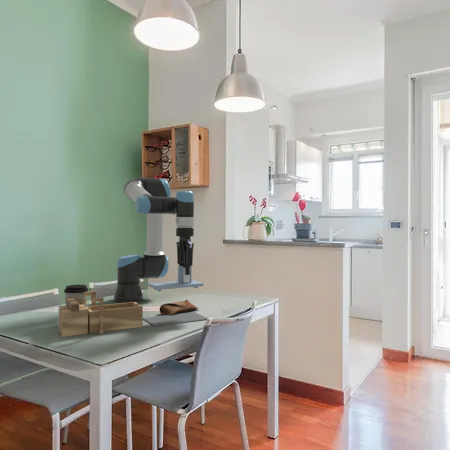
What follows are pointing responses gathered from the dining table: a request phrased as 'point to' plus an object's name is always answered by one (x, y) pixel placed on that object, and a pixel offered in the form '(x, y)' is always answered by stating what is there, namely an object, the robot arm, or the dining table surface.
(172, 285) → the lid
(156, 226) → the robot arm
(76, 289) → the coffee cup
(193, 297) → the dining table surface
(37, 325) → the dining table surface
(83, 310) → the toolbox
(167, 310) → the sunglasses case
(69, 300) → the key
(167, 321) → the mat
